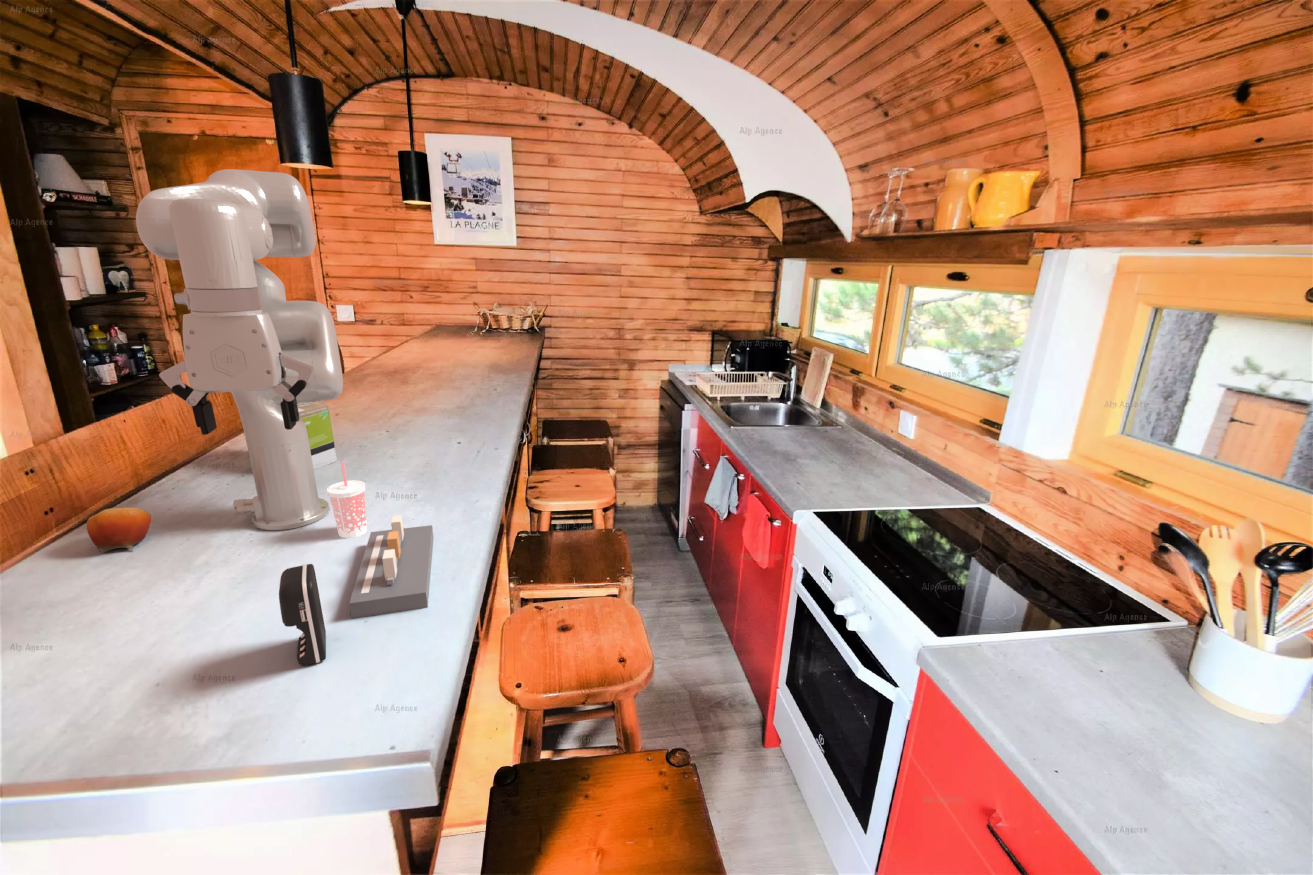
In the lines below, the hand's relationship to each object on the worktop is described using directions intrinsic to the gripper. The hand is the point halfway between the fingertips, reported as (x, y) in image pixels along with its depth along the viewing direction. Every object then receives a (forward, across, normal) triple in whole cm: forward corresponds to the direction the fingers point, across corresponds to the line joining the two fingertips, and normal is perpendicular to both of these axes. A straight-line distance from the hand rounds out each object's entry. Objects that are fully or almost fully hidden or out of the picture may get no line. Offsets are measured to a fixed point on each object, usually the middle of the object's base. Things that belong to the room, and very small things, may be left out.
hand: (251, 429), depth 79 cm
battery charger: (+26, +7, -16) cm, 31 cm away
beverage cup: (+26, +7, +18) cm, 32 cm away
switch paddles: (+22, +16, +1) cm, 27 cm away
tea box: (+25, -11, +59) cm, 65 cm away
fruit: (+25, -29, +23) cm, 45 cm away
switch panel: (+26, +16, +1) cm, 30 cm away
